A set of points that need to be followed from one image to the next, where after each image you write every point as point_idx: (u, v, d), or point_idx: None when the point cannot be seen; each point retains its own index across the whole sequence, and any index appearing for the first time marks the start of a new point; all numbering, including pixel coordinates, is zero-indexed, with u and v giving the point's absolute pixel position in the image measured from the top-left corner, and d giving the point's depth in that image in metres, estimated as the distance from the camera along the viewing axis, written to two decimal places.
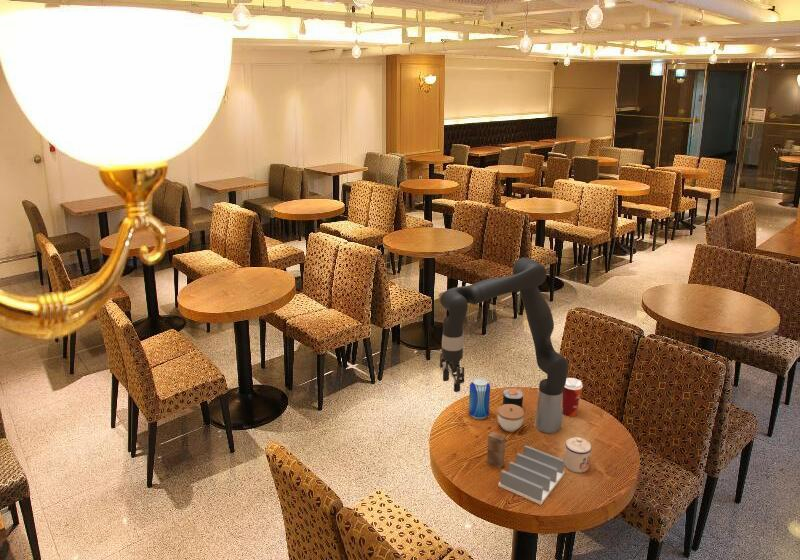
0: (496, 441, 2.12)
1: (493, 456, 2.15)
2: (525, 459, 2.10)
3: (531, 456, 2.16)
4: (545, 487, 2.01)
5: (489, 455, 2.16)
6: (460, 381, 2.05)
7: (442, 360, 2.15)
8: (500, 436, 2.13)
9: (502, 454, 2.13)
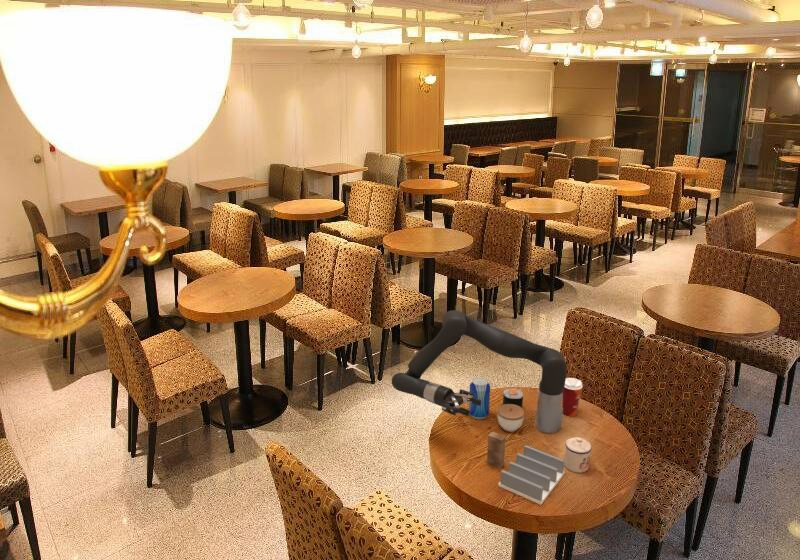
0: (496, 441, 2.12)
1: (493, 456, 2.15)
2: (525, 459, 2.10)
3: (531, 456, 2.16)
4: (545, 487, 2.01)
5: (489, 455, 2.16)
6: (452, 412, 2.13)
7: None
8: (500, 436, 2.13)
9: (502, 454, 2.13)
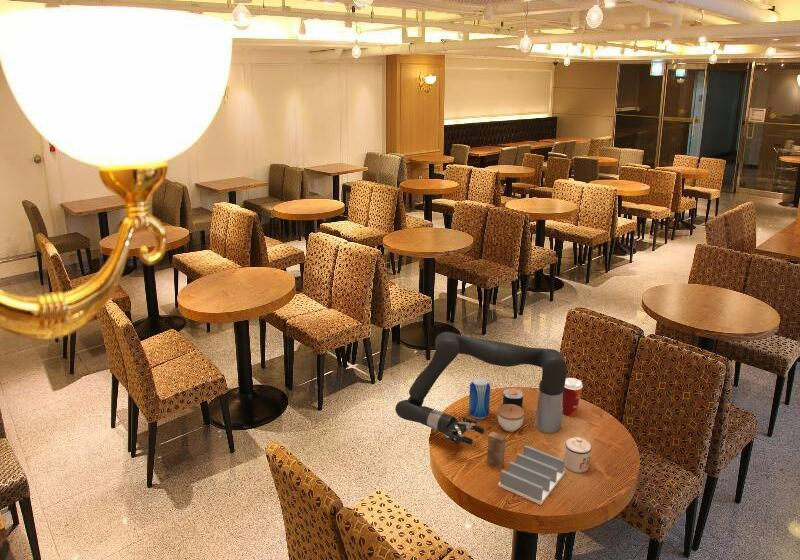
0: (496, 441, 2.12)
1: (493, 456, 2.15)
2: (525, 459, 2.10)
3: (531, 456, 2.16)
4: (545, 487, 2.01)
5: (489, 455, 2.16)
6: (455, 440, 2.16)
7: None
8: (500, 436, 2.13)
9: (502, 454, 2.13)
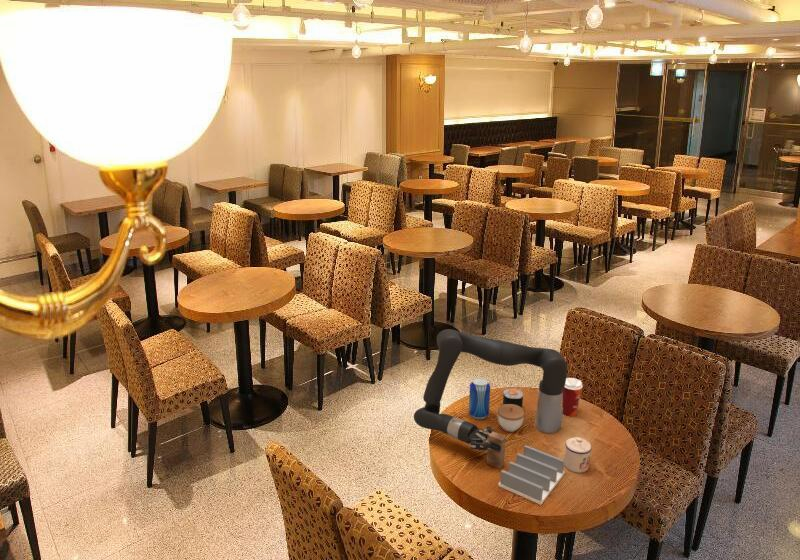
0: (496, 441, 2.12)
1: (493, 456, 2.15)
2: (525, 459, 2.10)
3: (531, 456, 2.16)
4: (545, 487, 2.01)
5: (489, 455, 2.15)
6: (484, 447, 2.12)
7: None
8: (500, 436, 2.13)
9: (502, 454, 2.13)
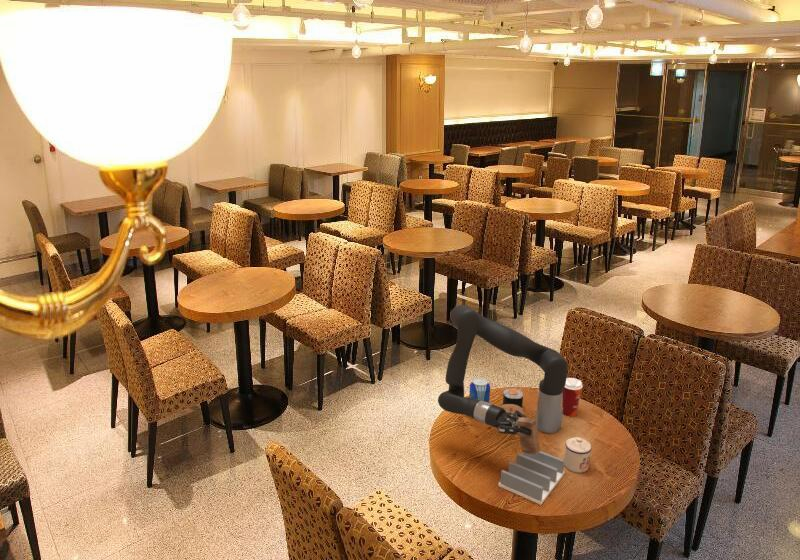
0: (526, 425, 2.01)
1: (526, 442, 2.03)
2: (525, 459, 2.10)
3: (531, 456, 2.16)
4: (545, 487, 2.01)
5: (523, 443, 2.04)
6: (513, 431, 2.02)
7: None
8: (529, 419, 2.02)
9: (536, 439, 2.02)
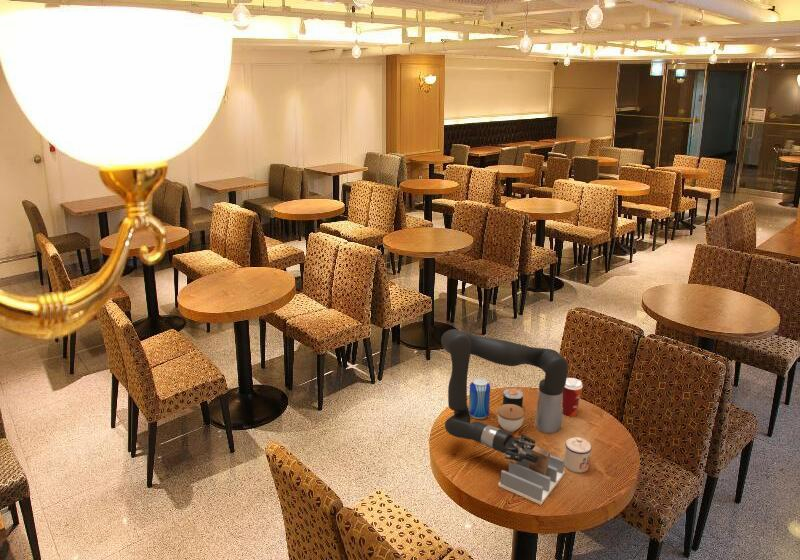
0: (540, 456, 2.01)
1: None
2: None
3: None
4: (545, 487, 2.01)
5: None
6: (519, 458, 2.02)
7: None
8: (544, 451, 2.02)
9: (545, 470, 2.03)
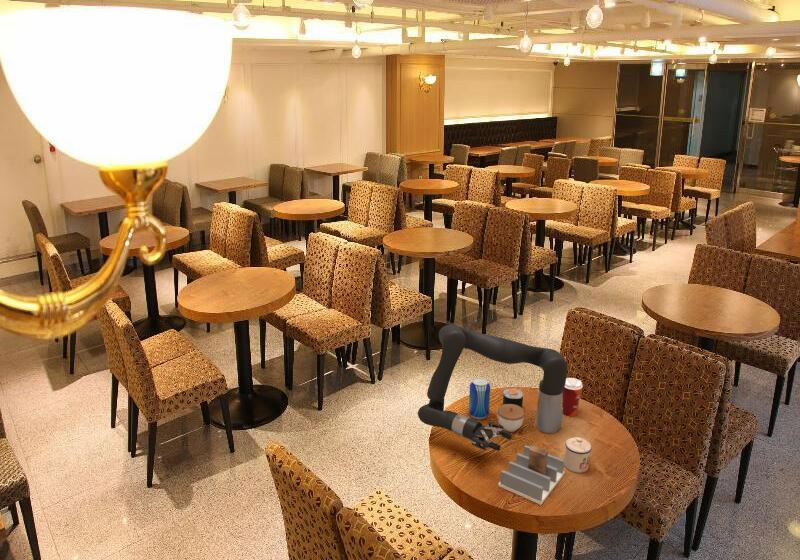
0: (538, 456, 2.02)
1: None
2: (525, 459, 2.10)
3: None
4: (545, 487, 2.01)
5: None
6: (482, 446, 2.09)
7: None
8: (542, 450, 2.03)
9: (544, 470, 2.04)
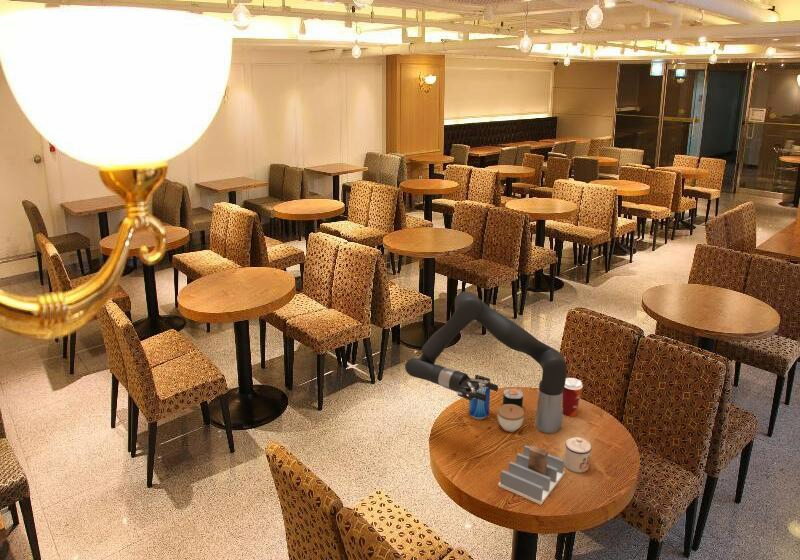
0: (538, 456, 2.02)
1: None
2: (525, 459, 2.10)
3: None
4: (545, 487, 2.01)
5: None
6: (468, 397, 2.08)
7: None
8: (542, 450, 2.03)
9: (544, 470, 2.04)
